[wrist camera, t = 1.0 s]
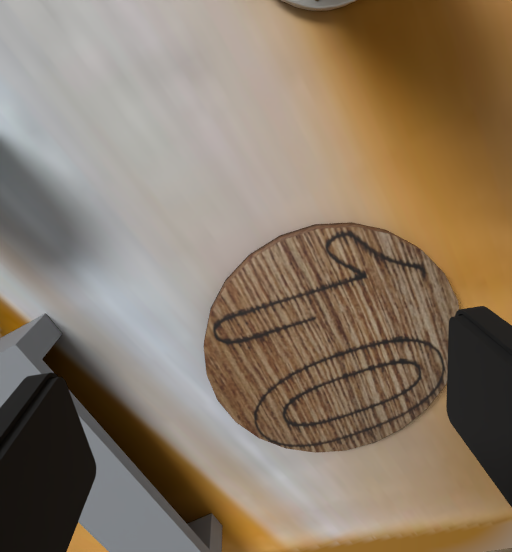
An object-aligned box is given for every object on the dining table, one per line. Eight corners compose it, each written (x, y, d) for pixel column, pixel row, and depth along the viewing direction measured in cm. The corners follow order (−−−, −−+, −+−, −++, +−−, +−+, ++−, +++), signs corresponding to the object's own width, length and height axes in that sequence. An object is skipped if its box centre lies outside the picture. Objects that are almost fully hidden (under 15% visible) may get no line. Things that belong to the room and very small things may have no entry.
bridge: (45, 313, 38) (15, 344, 33) (222, 525, 49) (220, 574, 44) (-22, 350, 39) (-62, 386, 34) (166, 549, 50) (158, 599, 45)
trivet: (158, 290, 38) (154, 298, 37) (410, 174, 35) (420, 177, 34) (267, 469, 47) (268, 482, 45) (477, 387, 44) (487, 398, 42)
